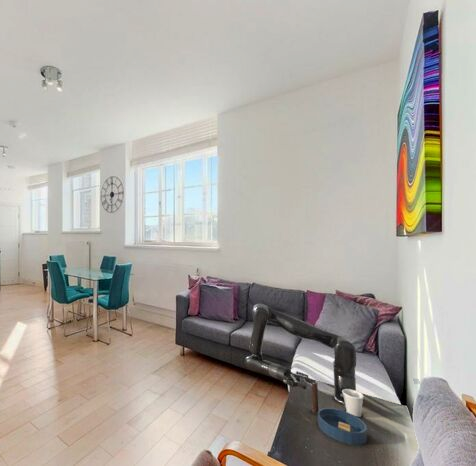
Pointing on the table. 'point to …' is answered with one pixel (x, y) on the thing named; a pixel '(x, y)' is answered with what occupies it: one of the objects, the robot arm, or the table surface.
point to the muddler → (315, 397)
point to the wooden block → (344, 426)
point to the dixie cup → (353, 401)
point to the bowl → (329, 426)
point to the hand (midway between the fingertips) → (310, 385)
